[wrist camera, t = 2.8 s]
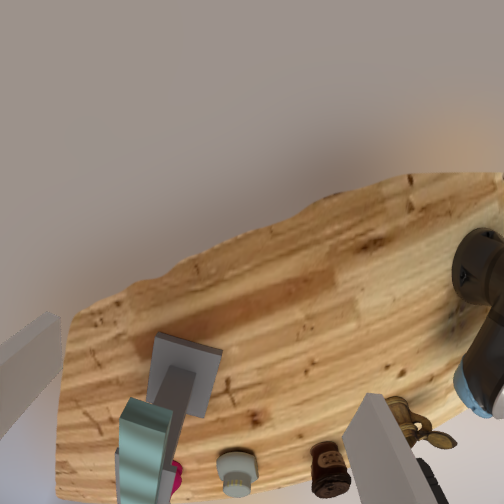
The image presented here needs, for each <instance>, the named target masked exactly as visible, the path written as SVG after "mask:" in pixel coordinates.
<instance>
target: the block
mask: <svg viewBox="0 0 504 504" xmlns="http://www.w3.org/2000/svg"><path fill="white" fill-rule="evenodd" d="M172 414H173V411H172V410H168V409H165V408H162V407H159V406H156V405H152V404H149V403H146V402H143V401H140V400H138V399H135V398H132V397H130V399H129V401H128V403H127V405H126V407H125V408H124V410H123V412H122V414H121V416H120V419H119V476H120V498H121V504H157V500H158V493H159V487H160V481H161V475H162V469H163V463H164V457H165V452H166V446H167V440H168V435H169V430H170V424H171V419H172Z"/></svg>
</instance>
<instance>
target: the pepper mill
mask: <svg viewBox="0 0 504 504" xmlns="http://www.w3.org/2000/svg"><path fill="white" fill-rule="evenodd" d="M172 465H173V466H176V467H177V471H176V475H175V479H174V484H173V488H172V492H171V496H172V494H173V493H174V492H175V491H176V490H177V489H178V488H179V487H180V485H181V482H182V478H181V476H180V475H181V474H182V466H181V465H180V464H179V463H178V462H176V461H174V460H173V461H172ZM170 499H171V497H170ZM169 504H171V503H170V501H169Z"/></svg>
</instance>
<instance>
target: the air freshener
mask: <svg viewBox="0 0 504 504" xmlns="http://www.w3.org/2000/svg"><path fill="white" fill-rule="evenodd" d="M217 471H218V474H219V477H220V479H221V480H222V481H224V483H223V492H224V493H225V494H226V495H228V496H230V497H235V498H241V497H245V496H247V495H249V494H250V492H251V483H252V482H254V481H256V480H257V479H258V478H259V474H258V467H257V462H256V458H255V457H254V456H253V455H250V454H248V453H244V452H230V453H226V454H224V455H222V456H220V457H219V458H218V459H217Z"/></svg>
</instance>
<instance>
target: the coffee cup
mask: <svg viewBox="0 0 504 504" xmlns="http://www.w3.org/2000/svg"><path fill="white" fill-rule="evenodd" d="M310 453H311V455H312V456H313V460H312V465H311V476H312V492H313V493H315V495H316V496H317V497H319V498H326V499H327V498H332V497H336V496H338V495H341V494H344V493H345V492H347V491H348V490H349V487H350V484H351V477H350V475H349V474H348V473H347V467H346V465H345V462H344V460H343V457H342V455H341V454H340V453H339V451H338V446H337V444H335V443H333V442H323V443H319V444H317V445H315V446H313V447H312V449H311V451H310Z"/></svg>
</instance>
